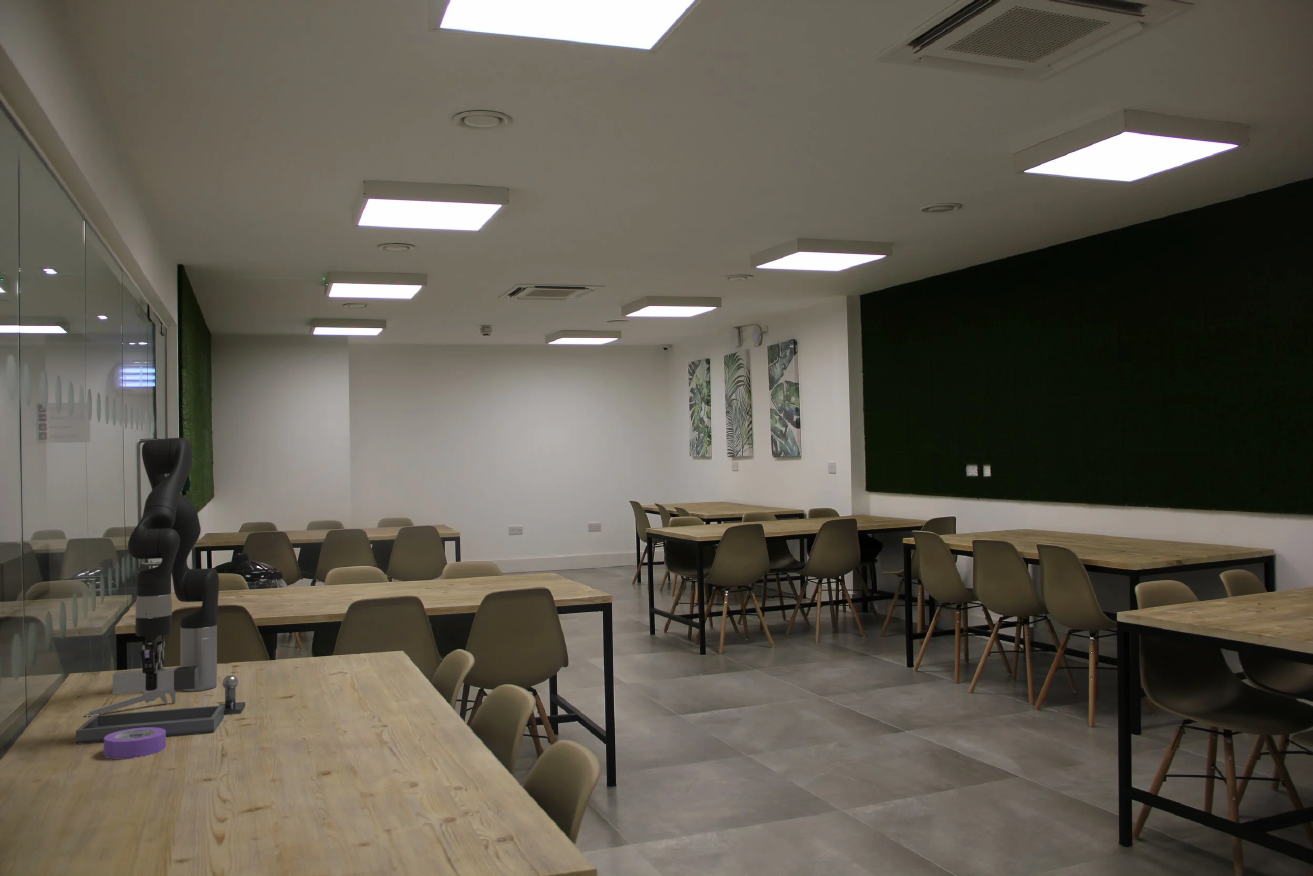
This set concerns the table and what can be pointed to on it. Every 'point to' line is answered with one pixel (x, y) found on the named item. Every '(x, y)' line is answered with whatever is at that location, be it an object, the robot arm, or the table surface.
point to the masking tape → (134, 742)
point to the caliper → (136, 701)
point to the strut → (165, 680)
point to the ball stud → (231, 696)
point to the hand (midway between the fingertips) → (153, 688)
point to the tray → (153, 722)
